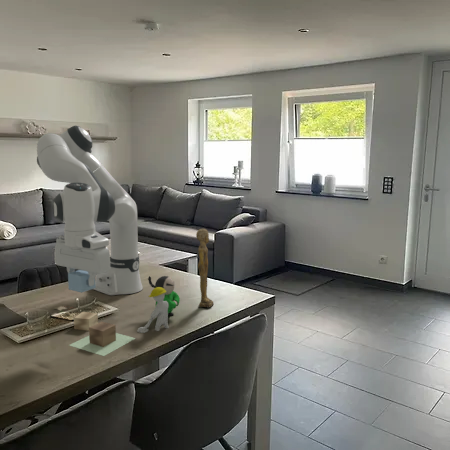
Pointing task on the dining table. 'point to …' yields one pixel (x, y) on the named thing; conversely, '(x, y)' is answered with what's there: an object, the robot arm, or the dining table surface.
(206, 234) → the sculpture
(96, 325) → the walnut brick
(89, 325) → the oak brick
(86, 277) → the blue brick
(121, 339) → the plate
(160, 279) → the toy
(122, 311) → the dining table surface
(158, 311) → the figurine
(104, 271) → the robot arm
